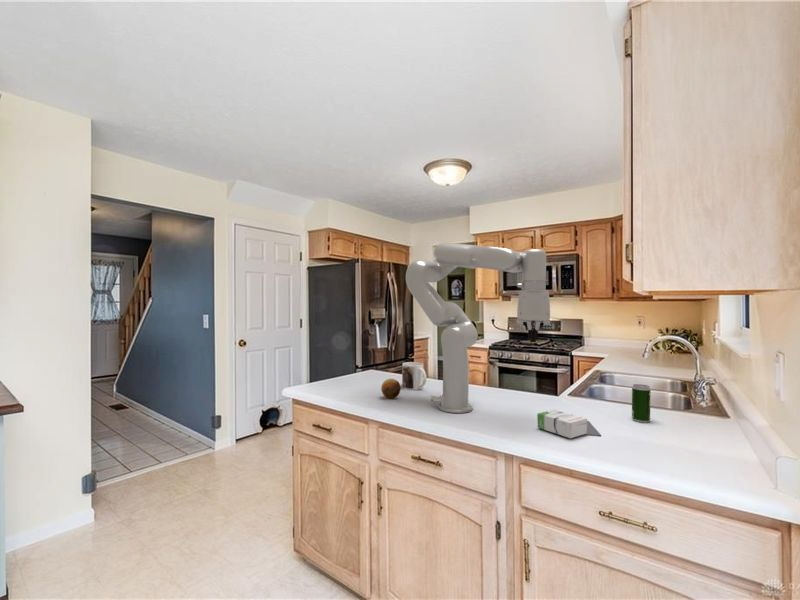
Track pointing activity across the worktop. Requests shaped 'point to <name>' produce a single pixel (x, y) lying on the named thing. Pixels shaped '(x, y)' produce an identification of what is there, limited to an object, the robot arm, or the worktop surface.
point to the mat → (591, 430)
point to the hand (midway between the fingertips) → (532, 341)
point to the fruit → (391, 388)
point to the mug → (413, 376)
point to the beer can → (641, 403)
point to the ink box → (562, 423)
